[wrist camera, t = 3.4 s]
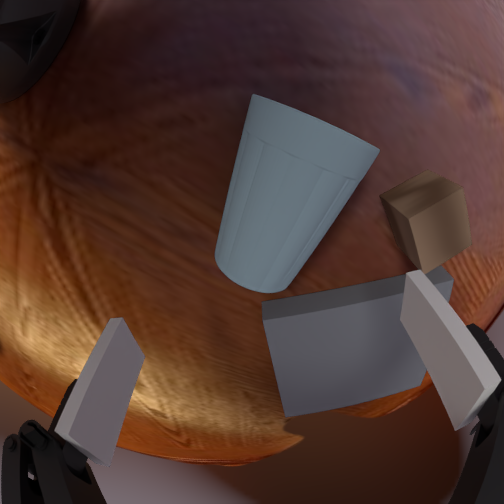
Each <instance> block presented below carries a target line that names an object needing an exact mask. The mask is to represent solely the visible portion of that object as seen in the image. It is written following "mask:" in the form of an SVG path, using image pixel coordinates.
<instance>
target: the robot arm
mask: <svg viewBox="0 0 504 504" xmlns="http://www.w3.org/2000/svg"><path fill="white" fill-rule="evenodd" d="M79 5H80V0H0V103H6V102H9V101H12V100H14V99H16V98H17V97H19V96H21V95H22V94H24V93H25V92H26V91H27V90H28V89H29V88H31V87H32V86H33V85H34V84H35V83H36V82H37V81H38V79H39V78H40V77H41V76H42V75H43V74H44V72H45V71H46V70H47V69H48V67H49V66H50V64H51V63H52V61H53V60H54V59H55V57H56V55H57V54H58V52H59V51H60V49H61V47H62V45H63V44H64V42H65V40H66V38H67V36H68V34H69V32H70V30H71V27H72V25H73V23H74V20H75V17H76V15H77V12H78V8H79ZM400 321H401V322H402V324H403V326H404V328H405V329H406V331H407V333H408V335H409V336H410V338H411V340H412V342H413V344H414V346H415V347H416V349H417V351H418V353H419V355H420V357H421V359H422V361H423V363H424V365H425V367H426V368H427V370H428V372H429V374H430V376H431V378H432V380H433V383H434V385H435V387H436V389H437V391H438V392H439V395H440V397H441V399H442V401H443V404H444V406H445V408H446V410H447V413H448V415H449V417H450V419H451V422H452V424H453V426H454V429H455V430H457V429H460V428H461V427H464V426H466V425H468V424H470V423H471V422H472V421H473V419H474V418H475V417H476V416H477V415H478V418H479V420H480V421H479V422H478V423H477V424H476V426H475V427H474V428H473V429H472V431H471V433H470V435H472V434H473V433H474V432H475V431H476V432H475V435H474V438H473V442H472V445H471V448H470V451H469V454H468V457H467V460H466V463H465V466H464V468H463V471H462V473H461V476H460V478H459V481H458V483H457V486H456V488H455V490H454V493H453V495H452V497H451V499H450V501H449V503H448V504H504V359H503V358H502V356H501V355H500V353H499V352H498V350H497V349H496V348H495V347H494V345H493V343H492V342H491V341H489V338H488V336H487V335H486V334H485V332H484V331H483V330H482V329H481V328H479V327H478V326H476V325H475V324H474V323H472V324H470V325H467V326H465V325H464V323H463V322H462V320H461V319H460V318H459V316H458V315H457V314H456V313H455V311H454V310H453V309H452V307H451V306H450V305H449V304H448V302H447V301H446V300H445V298H444V297H443V296H442V295H441V294H440V292H439V291H438V290H437V289H436V287H435V286H434V285H433V284H432V283H431V281H430V280H429V279H428V278H427V277H426V276H425V274H424V273H423V272H422V271H421V270H416V271H412V272H408V273H406V279H405V288H404V296H403V303H402V310H401V316H400ZM144 359H145V356H144V354H143V352H142V351H141V349H140V347H139V346H138V344H137V342H136V341H135V339H134V337H133V335H132V334H131V332H130V330H129V328H128V326H127V325H126V323H125V321H124V319H123V317H122V318H110V320H109V322H108V323H107V325H106V327H105V329H104V331H103V332H102V334H101V336H100V338H99V340H98V341H97V343H96V345H95V347H94V349H93V351H92V353H91V354H90V356H89V358H88V360H87V362H86V364H85V366H84V368H83V370H82V372H81V374H80V376H79V378H78V379H75V380H74V381H73V382H72V383H71V385H70V386H69V387H68V389H67V391H66V393H65V395H64V398H63V399H62V401H61V405H59V407H58V410H57V412H56V414H55V416H54V418H53V421H52V423H51V425H50V428H49V430H48V431H46V430H45V429H44V428H43V427H42V426H41V425H40V424H39V423H38V422H36V421H35V420H28V421H26V422H25V423H24V424H23V425H22V426H21V427H20V430H19V432H18V435H16V434H11V435H10V436H8V437H7V438H6V440H5V442H4V446H3V454H2V475H1V476H2V477H1V479H2V480H1V482H2V483H1V493H2V494H1V495H2V504H107V503H106V501H105V499H104V497H103V495H102V493H101V490H100V488H99V486H98V484H97V482H96V479H95V477H94V475H93V472H92V470H91V467H90V466H89V464H88V463H87V462H86V461H87V458H89V459H90V460H92V461H93V462H94V463H96V464H100V465H104V466H108V467H110V464H111V461H112V457H113V454H114V450H115V447H116V443H117V440H118V437H119V433H120V430H121V427H122V424H123V421H124V417H125V414H126V411H127V408H128V405H129V402H130V399H131V396H132V393H133V390H134V387H135V384H136V381H137V378H138V376H139V373H140V370H141V367H142V364H143V361H144ZM28 472H30V473H31V474H33V475H34V480H32V479H30V478H29V477H28Z"/></svg>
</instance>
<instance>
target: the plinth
mask: <svg viewBox="0 0 504 504" xmlns="http://www.w3.org/2000/svg"><path fill="white" fill-rule="evenodd" d="M425 276H426V277H427V278H428V279H429V280H430V281H431V283H432V284H433V285H434V286H435V287H436V289H437V290H438V291H439V292H440V294H441V295H442V296H443V297H444V298H445V300H446V301H447V302H449V299H450V294H451V290H452V286H453V282H454V279H453V278H452V277H451V275H450V274H449V273H448V272H447V271H446V270H445V269H444V268H443V267H442V266H438V267H436V268H434V269H433V270H431V271H430V272H428V273H426V274H425ZM405 279H406V274H404V275H400V276H395V277H391V278H386V279H381V280H377V281H372V282H367V283H362V284H358V285H353V286H348V287H342V288H337V289H332V290H327V291H321V292H316V293H311V294H305V295H299V296H293V297H288V298H282V299H275V300H269V301H263V302H262V320H263V325H264V329H265V333H266V337H267V342H268V346H269V350H270V354H271V359H272V363H273V367H274V371H275V375H276V380H277V384H278V388H279V392H280V397H281V401H282V405H283V409H284V413H285V417H291V416H298V415H303V414H309V413H316V412H321V411H327V410H332V409H337V408H341V407H346V406H350V405H355V404H359V403H363V402H367V401H371V400H374V399H378V398H382V397H385V396H388V395H392V394H395V393H398V392H402V391H405V390H408V389H411V388H414V387H417V386H420V385H421V383H422V380H423V378H424V375H425V373H426V370H427V368H426V367H425V365H424V363H423V361H422V359H421V357H420V355H419V353H418V351H417V349H416V347H415V346H414V344H413V342H412V340H411V338H410V336H409V335H408V333H407V331H406V329H405V328H404V326H403V324H402V322H401V321H400V316H401V310H402V303H403V296H404V288H405Z"/></svg>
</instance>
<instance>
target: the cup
mask: <svg viewBox="0 0 504 504" xmlns="http://www.w3.org/2000/svg"><path fill="white" fill-rule="evenodd" d="M379 152H380V149H378V148H376V147H375V146H373V145H371V144H369V143H367V142H365V141H363V140H362V139H360V138H358V137H356V136H354V135H352V134H350V133H348V132H346V131H344V130H342V129H340V128H338V127H335V126H333V125H331V124H329V123H327V122H325V121H322V120H320V119H318V118H316V117H313V116H311V115H309V114H306V113H304V112H301V111H299V110H297V109H294V108H292V107H289V106H287V105H284V104H281V103H279V102H276V101H273V100H270V99H268V98H265V97H262V96H259V95H256V94H252V97H251V101H250V104H249V108H248V112H247V116H246V120H245V124H244V129H243V133H242V137H241V141H240V145H239V149H238V153H237V157H236V161H235V165H234V169H233V173H232V178H231V182H230V186H229V190H228V195H227V199H226V203H225V208H224V212H223V217H222V221H221V226H220V230H219V235H218V240H217V244H216V249H215V260H216V263H217V265H218V267H219V268H220V270H221V271H222V272H223V273H224V274H225V275H226V276H227V277H228V278H229V279H231V280H232V281H234V282H235V283H237V284H238V285H240V286H243V287H245V288H247V289H250V290H253V291H257V292H262V293H275V292H279V291H282V290H284V289H286V288H287V287H288V285H289V284H290V283H291V282H292V280H293V279H294V278H295V276H296V275H297V274H298V272H299V271H300V269H301V268H302V267H303V265H304V264H305V262H306V261H307V260H308V258H309V257H310V255H311V254H312V252H313V251H314V250H315V248H316V247H317V245H318V244H319V242H320V241H321V240H322V238H323V237H324V235H325V234H326V232H327V231H328V229H329V228H330V226H331V225H332V223H333V222H334V220H335V219H336V217H337V216H338V214H339V213H340V211H341V210H342V208H343V207H344V205H345V204H346V202H347V201H348V199H349V198H350V196H351V195H352V193H353V192H354V190H355V189H356V187H357V186H358V184H359V183H360V181H361V180H362V179H363V177H364V176H365V174H366V173H367V171H368V170H369V168H370V166H371V165H372V163H373V162H374V160H375V159H376V157H377V155H378V154H379Z"/></svg>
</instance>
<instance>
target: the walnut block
mask: <svg viewBox="0 0 504 504" xmlns="http://www.w3.org/2000/svg"><path fill="white" fill-rule="evenodd" d="M380 198H381V201H382V203H383V206H384V209H385V211H386V214H387V217H388V220H389V222H390V225H391V228H392V231H393V234H394V237H395V240H396V243H397V245H398V246H399V248H400V249H401V250H402V251H403V252H404V253H405V254H406V255H407V257H408V258H409V259H410V260H411V261H412V262H413V264H414V265H415V266H416V267H417V268H418V270H421V271H422V272H423V273H424V274H426V273H428V272H430V271H431V270H433V269H434V268H436V267H438V266H439V265H441V264H443V263H444V262H446V261H447V260H449V259H450V258H452V257H454V256H455V255H457V254H458V253H460V252H461V251H463V250H464V249H466V248H467V247H469V246H470V245H472V240H471V232H470V225H469V218H468V212H467V206H466V200H465V195H464V190H463V187H462V186H460V185H458V184H456V183H454V182H452V181H450V180H448V179H446V178H444V177H442V176H440V175H438V174H436V173H434V172H432V171H429V170H426V171H424V172H422V173H420V174H418V175H416V176H415V177H413V178H411V179H409V180H407V181H405V182H404V183H402V184H400V185H398V186H396V187H394V188H392V189H391V190H389V191H387V192H385V193H383V194H381V195H380Z"/></svg>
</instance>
